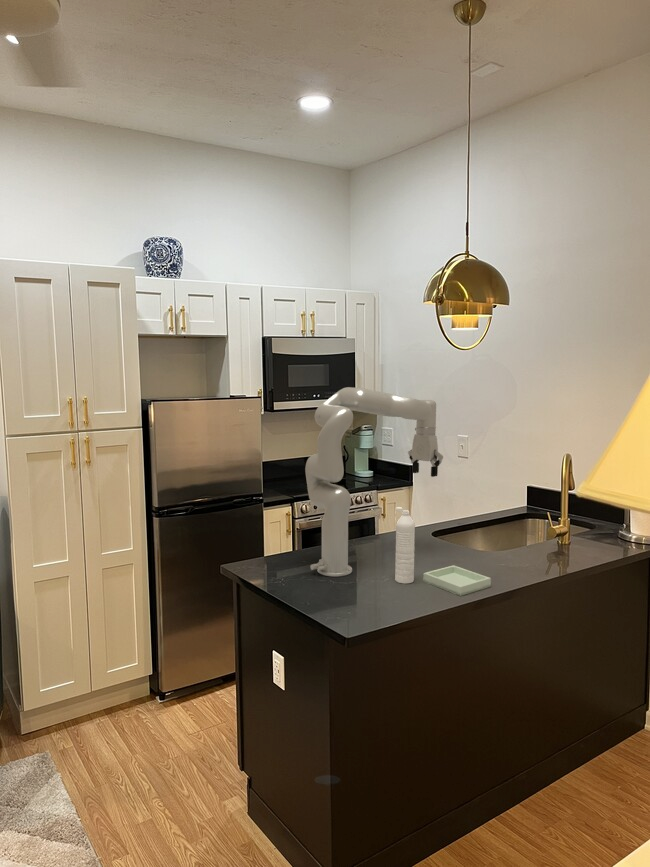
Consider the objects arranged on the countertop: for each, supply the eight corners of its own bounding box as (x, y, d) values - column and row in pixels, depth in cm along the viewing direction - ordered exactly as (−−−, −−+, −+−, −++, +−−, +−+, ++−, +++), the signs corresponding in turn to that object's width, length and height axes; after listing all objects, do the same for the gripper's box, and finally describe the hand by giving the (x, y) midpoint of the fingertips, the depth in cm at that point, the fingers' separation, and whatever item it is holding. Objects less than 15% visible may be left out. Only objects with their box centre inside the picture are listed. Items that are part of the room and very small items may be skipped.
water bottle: (417, 582, 224) (418, 511, 221) (401, 585, 222) (402, 513, 219) (404, 574, 232) (405, 506, 229) (388, 577, 229) (389, 507, 227)
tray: (460, 596, 211) (460, 587, 211) (423, 581, 225) (423, 573, 225) (490, 586, 220) (490, 578, 220) (453, 573, 234) (453, 565, 234)
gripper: (403, 430, 259) (402, 472, 261) (436, 434, 246) (435, 478, 248) (415, 429, 264) (414, 470, 266) (449, 432, 251) (448, 476, 253)
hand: (424, 474), depth 257 cm, fingers open, 9 cm apart
